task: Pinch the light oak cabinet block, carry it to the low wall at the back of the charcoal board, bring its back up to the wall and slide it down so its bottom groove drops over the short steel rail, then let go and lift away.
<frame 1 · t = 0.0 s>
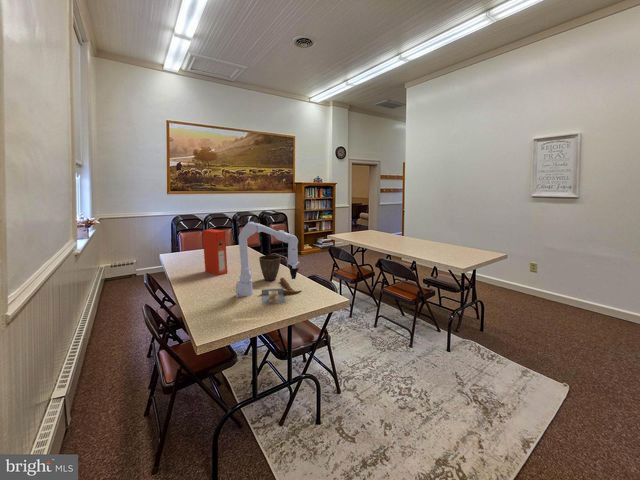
hand: (293, 277, 187), 10 cm above the table, tool pointing down, fingers open, 7 cm apart
hammer: (288, 289, 197), on the table, touching wall board
cabinet block: (273, 301, 172), point 1 cm above the table, touching wall board
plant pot: (270, 279, 216), on the table
wall board: (273, 299, 177), on the table
file binder: (216, 272, 233), on the table
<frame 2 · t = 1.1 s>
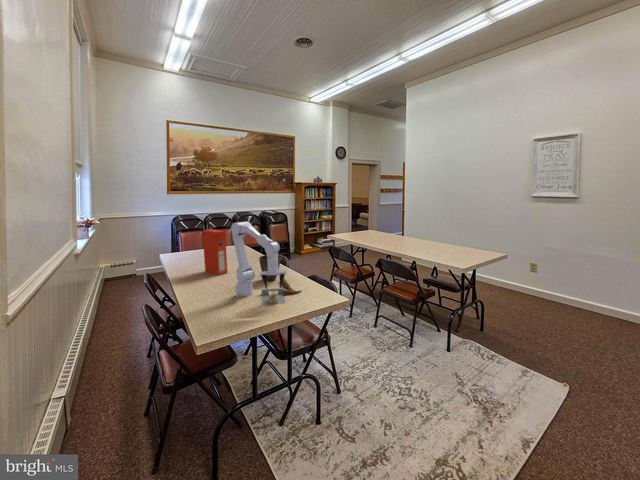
hand: (273, 287, 171), 9 cm above the table, tool pointing down, fingers open, 7 cm apart
nothing on the table moved.
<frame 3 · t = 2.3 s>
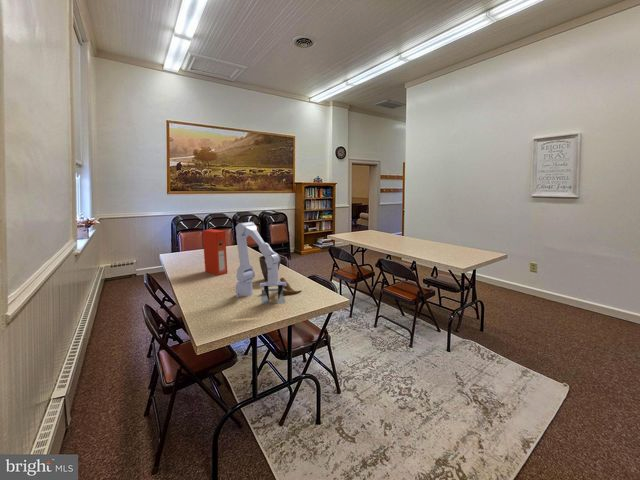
hand: (273, 298, 172), 2 cm above the table, tool pointing down, fingers closed on cabinet block, 5 cm apart
cabinet block: (273, 301, 172), point 1 cm above the table, touching gripper, wall board
everything else where it was.
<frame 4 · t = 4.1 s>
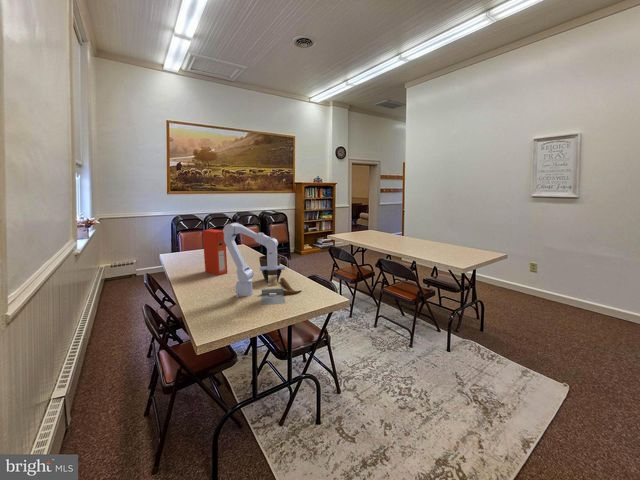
hand: (272, 282, 179), 9 cm above the table, tool pointing down, fingers closed on cabinet block, 5 cm apart
cabinet block: (272, 284, 179), point 8 cm above the table, touching gripper
everything else where it was.
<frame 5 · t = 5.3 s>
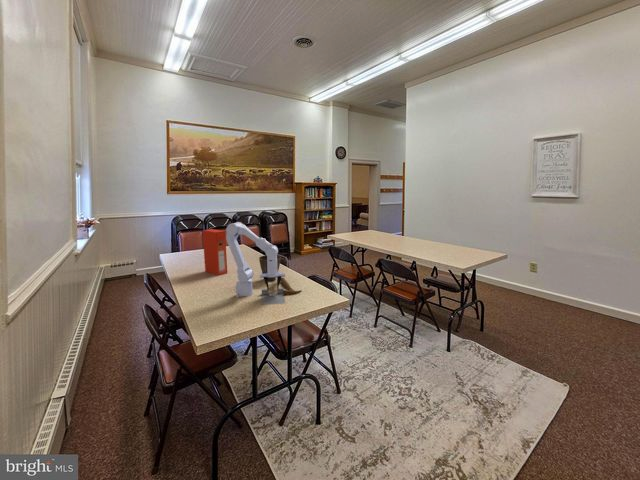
hand: (272, 289, 180), 5 cm above the table, tool pointing down, fingers closed on cabinet block, 5 cm apart
cabinet block: (272, 291, 180), point 3 cm above the table, touching gripper
everything else where it was.
when the fingers open (3 cm above the table, at t = 6.2 s): cabinet block stays where it is, resting on wall board.
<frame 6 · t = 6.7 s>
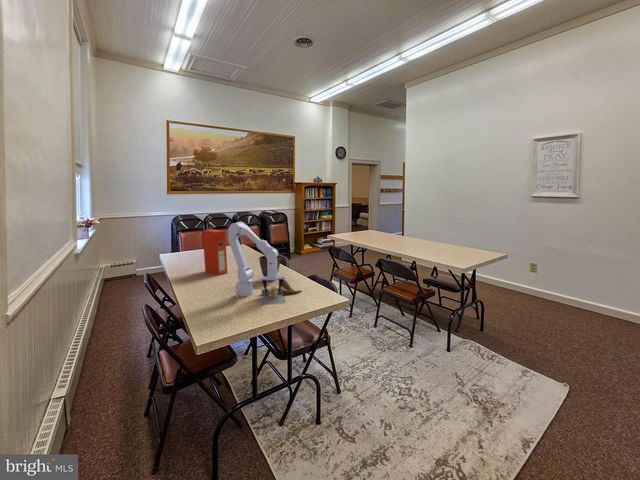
hand: (272, 292, 181), 3 cm above the table, tool pointing down, fingers open, 7 cm apart
cabinet block: (272, 295, 181), point 1 cm above the table, touching wall board
everything else where it was.
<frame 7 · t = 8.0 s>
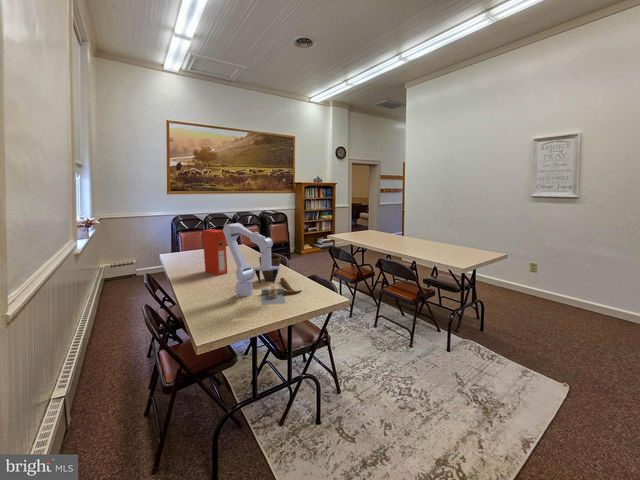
hand: (266, 282, 175), 10 cm above the table, tool pointing down, fingers open, 7 cm apart
nothing on the table moved.
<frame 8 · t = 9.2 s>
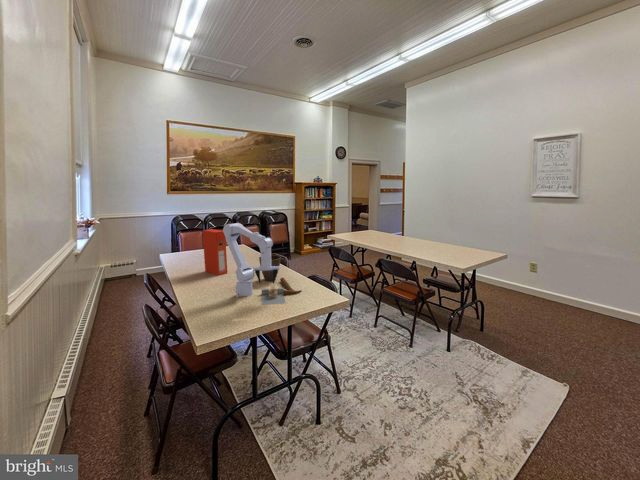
hand: (266, 282, 175), 10 cm above the table, tool pointing down, fingers open, 7 cm apart
nothing on the table moved.
at the end: cabinet block 0.3 cm from the target spot on the wall board, point 1.0 cm above the wall board's base; cabinet block tilted 0°; the gripper is holding nothing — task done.
